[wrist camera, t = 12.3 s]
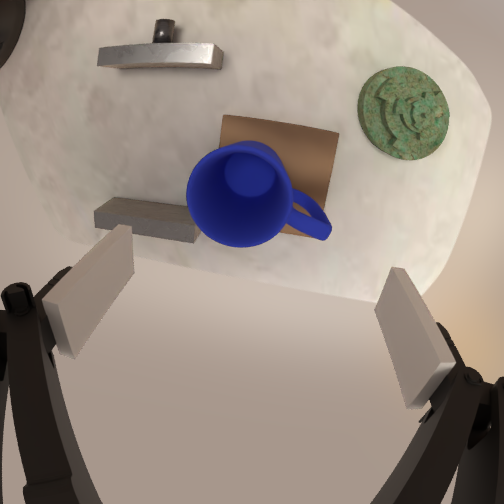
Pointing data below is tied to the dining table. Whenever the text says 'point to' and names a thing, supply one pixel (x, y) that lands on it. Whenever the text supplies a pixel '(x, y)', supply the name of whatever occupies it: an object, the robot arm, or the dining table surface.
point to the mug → (249, 197)
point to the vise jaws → (155, 55)
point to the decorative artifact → (403, 113)
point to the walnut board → (290, 153)
